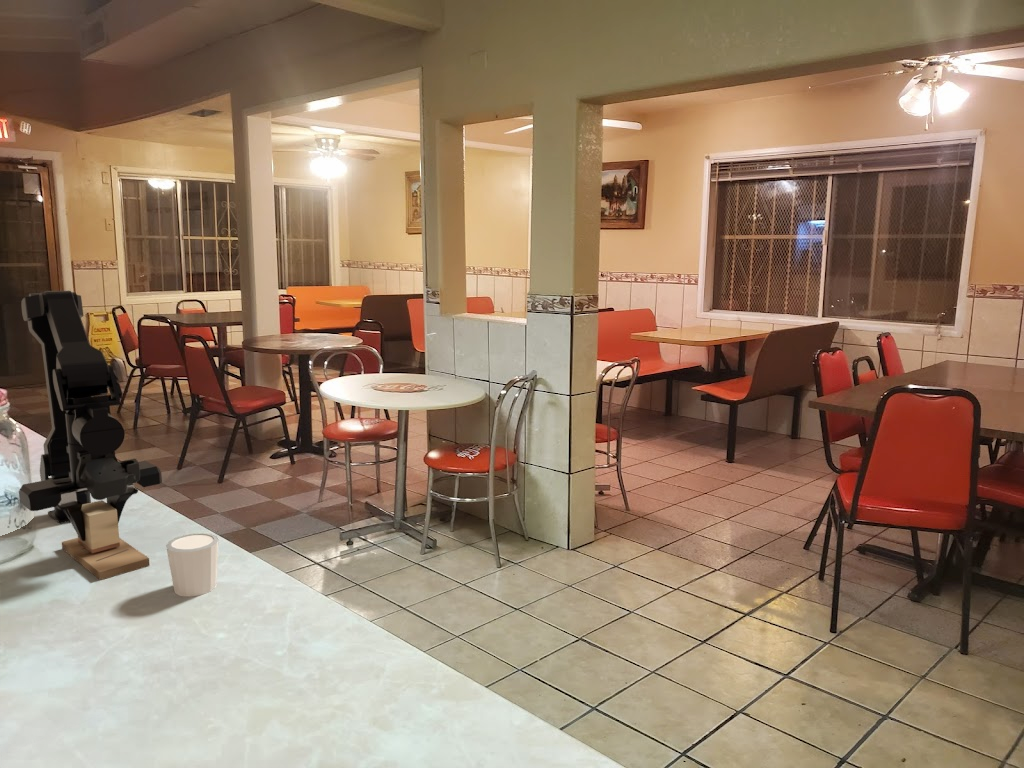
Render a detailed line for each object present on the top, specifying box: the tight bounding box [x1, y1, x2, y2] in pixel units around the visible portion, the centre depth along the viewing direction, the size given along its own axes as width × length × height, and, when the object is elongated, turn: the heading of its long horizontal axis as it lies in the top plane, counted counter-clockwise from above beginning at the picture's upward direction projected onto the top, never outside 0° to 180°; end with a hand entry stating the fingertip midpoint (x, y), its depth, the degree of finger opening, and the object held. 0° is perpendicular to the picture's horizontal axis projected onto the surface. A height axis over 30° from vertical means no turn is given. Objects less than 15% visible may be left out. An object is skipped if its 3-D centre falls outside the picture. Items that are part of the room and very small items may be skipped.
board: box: [61, 537, 150, 581], centre depth 117 cm, size 16×7×1 cm, turn 48°
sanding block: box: [76, 499, 120, 553], centre depth 117 cm, size 6×4×6 cm, turn 48°
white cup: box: [165, 532, 220, 597], centre depth 106 cm, size 7×7×7 cm
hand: (98, 536), depth 118 cm, fingers closed on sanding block, 4 cm apart
